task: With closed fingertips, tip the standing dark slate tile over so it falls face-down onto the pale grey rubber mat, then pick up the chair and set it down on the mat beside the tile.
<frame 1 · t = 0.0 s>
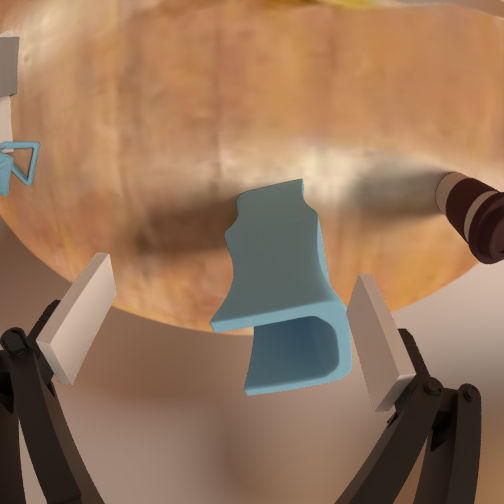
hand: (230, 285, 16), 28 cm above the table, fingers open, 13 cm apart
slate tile: (14, 65, 30), on the table
chair: (19, 156, 38), on the table, touching mat
blue wavy holder: (275, 217, 45), on the table
coffee cup: (451, 192, 41), on the table
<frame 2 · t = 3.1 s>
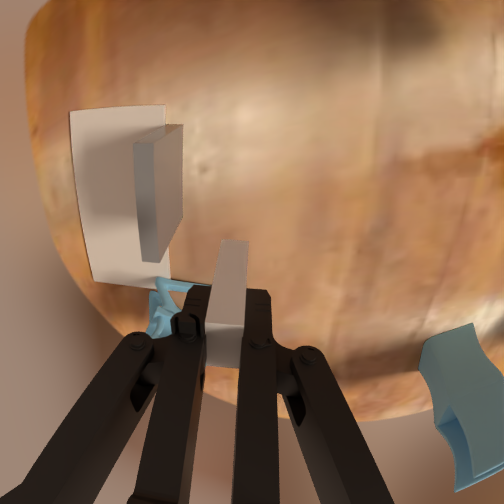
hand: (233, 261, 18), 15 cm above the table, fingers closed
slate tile: (174, 172, 30), on the table
chair: (183, 296, 38), on the table, touching mat
blue wavy holder: (444, 348, 44), on the table
mat: (120, 205, 32), on the table
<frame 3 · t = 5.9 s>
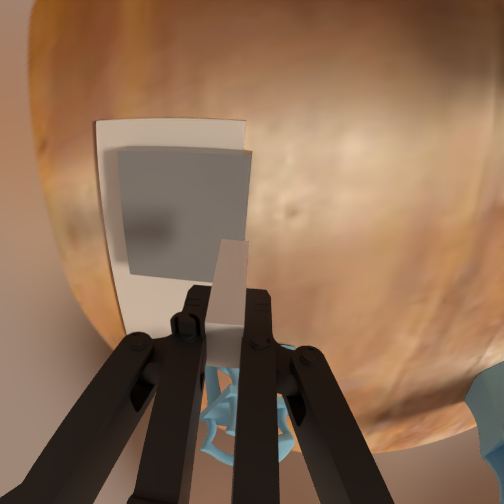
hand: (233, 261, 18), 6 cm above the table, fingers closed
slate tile: (245, 222, 22), point 1 cm above the table, tilted 90°, touching mat
chair: (243, 355, 31), on the table, touching mat
blue wavy holder: (490, 379, 38), on the table
mat: (169, 253, 25), on the table
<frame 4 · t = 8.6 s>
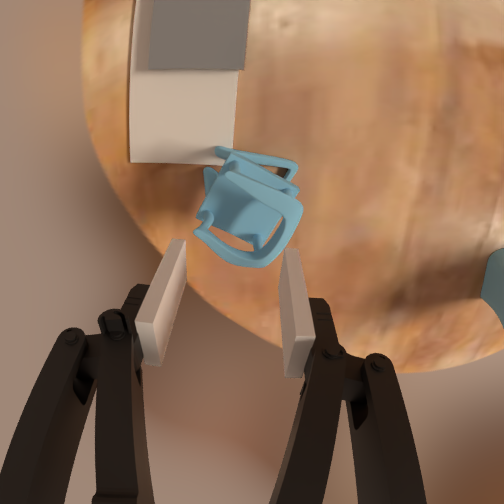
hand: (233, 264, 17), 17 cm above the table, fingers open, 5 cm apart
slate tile: (248, 21, 22), point 1 cm above the table, tilted 90°, touching mat
chair: (245, 175, 32), on the table, touching mat
blue wavy holder: (503, 270, 38), on the table
mat: (183, 59, 25), on the table
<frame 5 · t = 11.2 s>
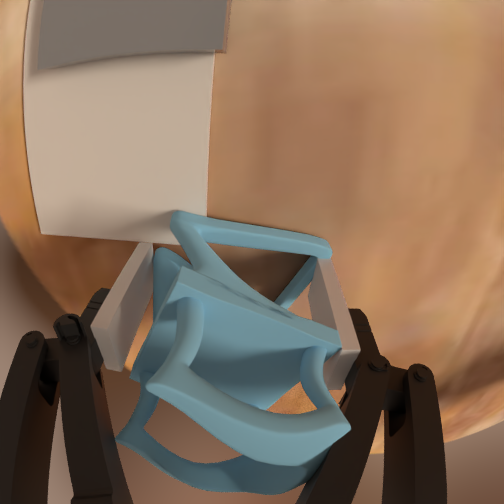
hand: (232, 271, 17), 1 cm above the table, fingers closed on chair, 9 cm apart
chair: (232, 261, 18), on the table, touching gripper, mat
mat: (107, 42, 11), on the table
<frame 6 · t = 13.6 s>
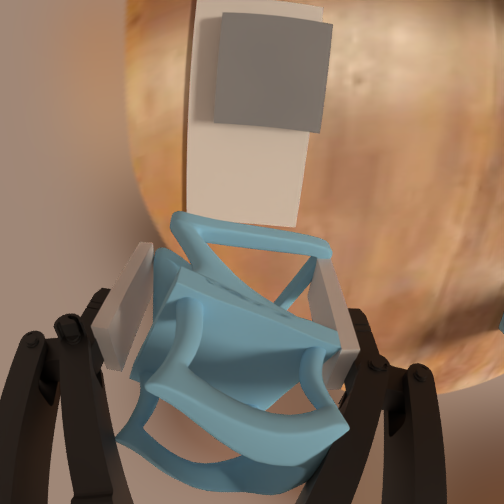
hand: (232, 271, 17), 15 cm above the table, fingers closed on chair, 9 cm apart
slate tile: (325, 77, 23), point 1 cm above the table, tilted 90°, touching mat
chair: (232, 261, 18), point 14 cm above the table, touching gripper
mat: (249, 111, 26), on the table
when the fingers open (3 cm above the table, at t = 16.0 s): chair drops 2 cm, resting on mat.
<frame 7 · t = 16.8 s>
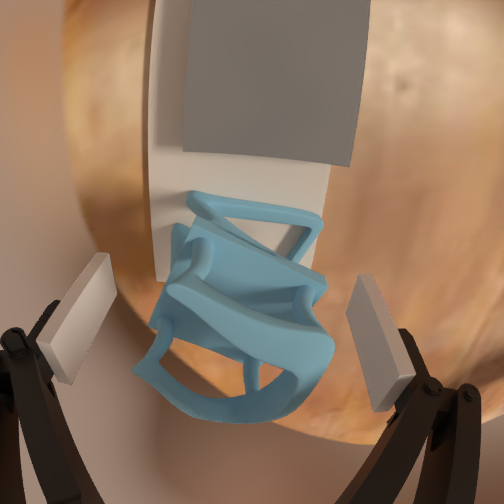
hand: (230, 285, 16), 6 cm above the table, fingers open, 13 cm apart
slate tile: (358, 79, 14), point 1 cm above the table, tilted 90°, touching mat
chair: (238, 235, 20), resting on mat
mat: (240, 130, 17), on the table
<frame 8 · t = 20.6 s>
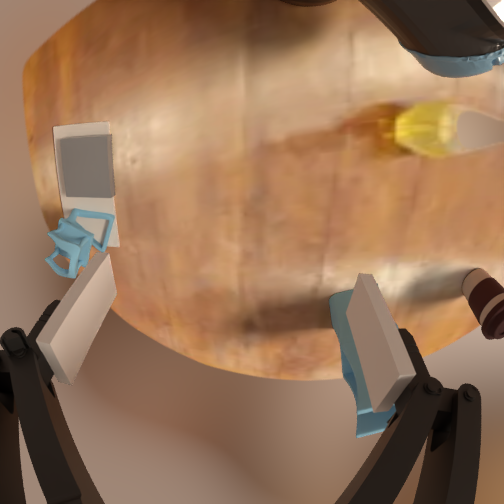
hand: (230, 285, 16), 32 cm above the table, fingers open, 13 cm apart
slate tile: (110, 166, 43), point 1 cm above the table, tilted 90°, touching mat
chair: (91, 223, 49), resting on mat
blue wavy holder: (354, 307, 58), on the table
mat: (85, 187, 46), on the table
coffee cup: (473, 280, 55), on the table
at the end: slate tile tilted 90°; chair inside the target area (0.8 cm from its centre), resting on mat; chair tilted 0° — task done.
